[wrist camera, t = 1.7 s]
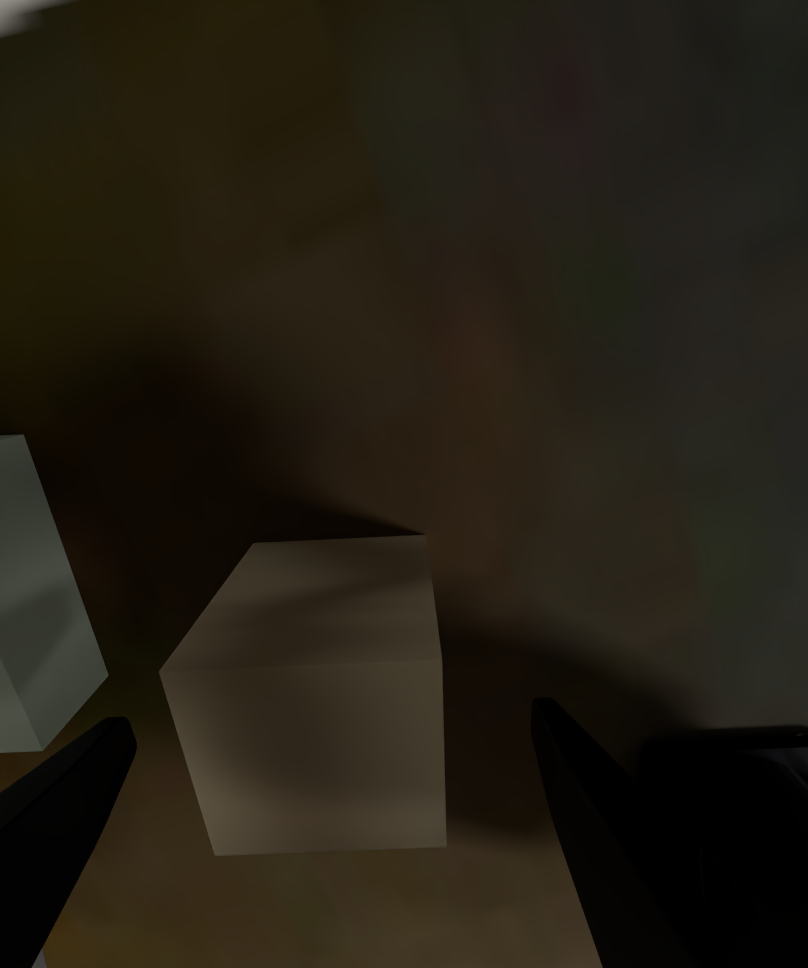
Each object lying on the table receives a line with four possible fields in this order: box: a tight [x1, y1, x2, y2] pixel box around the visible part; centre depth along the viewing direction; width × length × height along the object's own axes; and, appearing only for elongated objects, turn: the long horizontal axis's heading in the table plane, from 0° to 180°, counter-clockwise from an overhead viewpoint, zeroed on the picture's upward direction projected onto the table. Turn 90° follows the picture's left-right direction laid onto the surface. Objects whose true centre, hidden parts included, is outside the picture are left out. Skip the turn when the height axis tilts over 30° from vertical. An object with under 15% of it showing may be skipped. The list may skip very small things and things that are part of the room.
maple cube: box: [159, 535, 447, 856], centre depth 10 cm, size 5×5×5 cm
